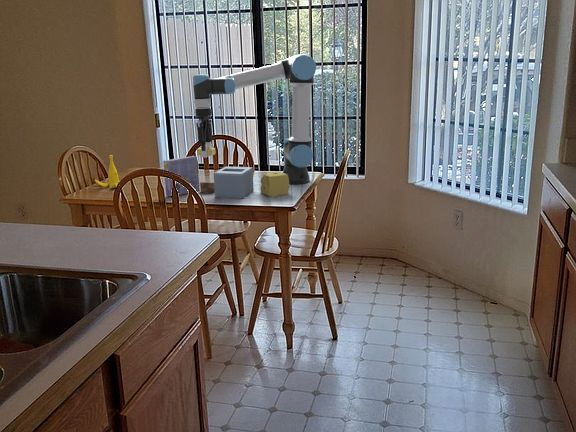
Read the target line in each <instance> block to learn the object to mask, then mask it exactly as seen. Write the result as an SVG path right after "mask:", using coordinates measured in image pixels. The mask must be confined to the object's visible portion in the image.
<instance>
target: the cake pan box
mask: <svg viewBox="0 0 576 432" xmlns="http://www.w3.org/2000/svg"><path fill="white" fill-rule="evenodd" d="M162 163H163V164H162V165H163V171H164V170H168V171H171V172H173V173H176V174H179V175H180V176H182V177H184V178H185V179H187V180H188V181H189V182H190V183H191V185H192V186H193V187H194V188H195V189H196V191H195V192H199V191H200V192H201V189H200V181H199V179H200V177H199V165H198V164H199V162H198V155H192V156H191V155H190V156H185V157H179V158H178V157H177V158H172V159H165V160H163V162H162ZM164 186H165V187H164V188H165V196H166V197H169V198H172V197H171V190H172V180H171V179H168V178H165V177H164ZM176 188H177V190H178V193H179V196H182V195H188V194H189V193H188V191H187V189H186V188H185V187H183V186H182V185H181V184H179V183H177V182H176Z"/></svg>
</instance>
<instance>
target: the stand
mask: <svg viewBox="0 0 576 432" xmlns="http://www.w3.org/2000/svg"><path fill="white" fill-rule="evenodd" d="M199 189H200V193H211V194H212V193H213V194H215V188H214V180H211V181H208V180H201V181H199Z"/></svg>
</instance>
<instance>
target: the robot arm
mask: <svg viewBox="0 0 576 432" xmlns="http://www.w3.org/2000/svg"><path fill="white" fill-rule="evenodd" d="M316 71H317V64H316V61H315V59H314V58H313V57H312V56H310V55H308V54H306V53H301V54H300V53H299V54H295V55H292V56H290V57H288V58H285V59H282V60H279V61H278V63H274V64H271V65H270V64H269V65H265V66H261V67H259V68H253V69H250V70H246V71H240V72H237V73H233V74H230V75H229V74H228V75H225V76H220V77H219V76H218V77H217V78H215V77H214V78H210V76H209V74H208V73H207V74H193V76H192V83H193V84H192V87H193V97H194V98H193V99H194V100H193V103H194V107H195V109H194V112H195V116H196V117H197V118H198V122H196V123H195V125H196V129H197V142H198V145H200V148H201V153H202V155H201V158H208V157H211V156H212V155H207V148H212V146H211V143H212V142H213V131H212V130H213V128H212V119H210V117H211V116H212V109H211V107H212V105H211V103H212V102H211V95H212V96H213V95H232V94H235V92H236V90H239V89H240V90H241V89H244V88H248V87H252V86H256V85H261V84H264V83H268V82H272V81H276V80H281V79H282V80H284V81H285V80H289V84H290V85H291V87H292V101H291V103H292V104H291V105H292V106H291V109H292V110H291V136H290V137H289V138H284V140H283V157H284V158H283V170H282V173H285V174H288V177H289V185H291V184H292V185H295V184H296V185H297V184H298V185H299V184H306V183H309V182H310V181H311V180H310V179H311V178H310V174H309V171H308V168H307V167H308V166H309V165H310V164H311V162H313V159H314V152H313V150H312V141H313V140H312V138H311V137H310V111H311V110H310V109H311V108H310V107H311V104H310V103H311V87H312V86H313V85H314V81H315V77H314V76H315V74H316Z"/></svg>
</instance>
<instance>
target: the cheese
mask: <svg viewBox="0 0 576 432" xmlns="http://www.w3.org/2000/svg"><path fill="white" fill-rule="evenodd" d="M260 183H261V185H260V193H261V194H263V195H266V196H267V197H270V198H273V197H278V196H283V195H289V192H290V184H289V177H288V174H285V173H283V172H281V171H269V172H267V173H265V174H263V175H262V176H261V178H260Z"/></svg>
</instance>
